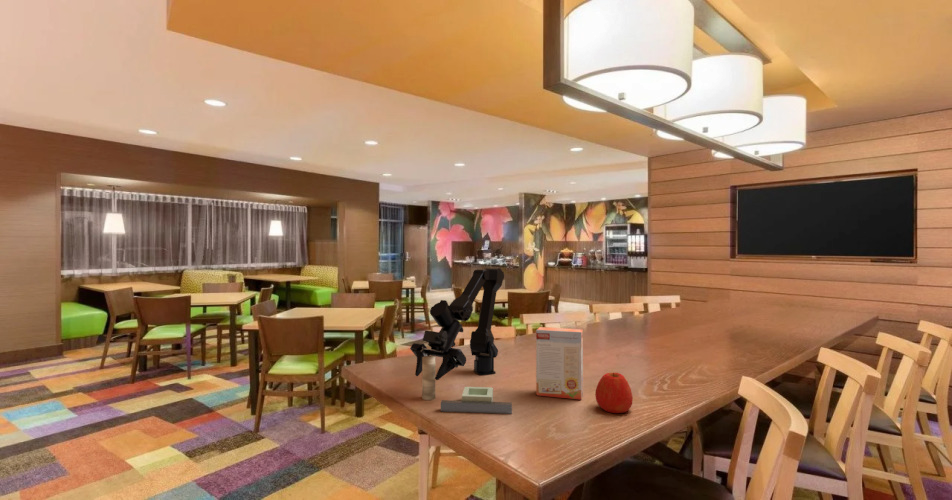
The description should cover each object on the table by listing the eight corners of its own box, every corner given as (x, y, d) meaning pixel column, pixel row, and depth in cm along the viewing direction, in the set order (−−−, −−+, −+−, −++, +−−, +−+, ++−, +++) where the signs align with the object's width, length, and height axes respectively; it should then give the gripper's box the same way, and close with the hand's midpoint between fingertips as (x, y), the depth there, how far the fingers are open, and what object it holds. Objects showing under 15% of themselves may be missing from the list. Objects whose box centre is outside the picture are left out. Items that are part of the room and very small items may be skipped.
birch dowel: (433, 395, 137) (433, 355, 137) (436, 399, 133) (437, 358, 133) (420, 396, 135) (420, 356, 135) (424, 400, 131) (424, 359, 131)
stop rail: (441, 408, 125) (441, 400, 125) (511, 411, 123) (511, 402, 123) (440, 411, 123) (440, 402, 123) (511, 413, 121) (511, 404, 121)
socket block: (464, 399, 133) (464, 386, 133) (492, 400, 133) (492, 387, 133) (461, 410, 125) (461, 396, 125) (491, 411, 124) (491, 397, 124)
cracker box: (583, 394, 138) (583, 328, 138) (581, 400, 132) (581, 331, 132) (539, 389, 142) (539, 325, 142) (535, 395, 137) (535, 328, 137)
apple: (607, 400, 133) (607, 366, 133) (639, 409, 125) (639, 373, 125) (588, 408, 126) (588, 372, 126) (621, 418, 118) (622, 380, 118)
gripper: (414, 317, 142) (390, 358, 133) (461, 323, 132) (439, 367, 123) (428, 337, 149) (407, 378, 140) (475, 344, 139) (455, 388, 130)
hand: (426, 377), depth 133 cm, fingers open, 7 cm apart
